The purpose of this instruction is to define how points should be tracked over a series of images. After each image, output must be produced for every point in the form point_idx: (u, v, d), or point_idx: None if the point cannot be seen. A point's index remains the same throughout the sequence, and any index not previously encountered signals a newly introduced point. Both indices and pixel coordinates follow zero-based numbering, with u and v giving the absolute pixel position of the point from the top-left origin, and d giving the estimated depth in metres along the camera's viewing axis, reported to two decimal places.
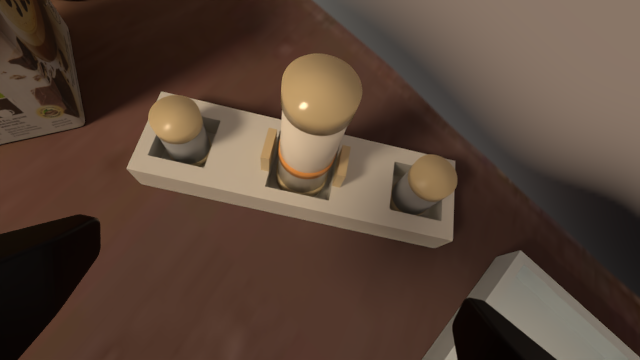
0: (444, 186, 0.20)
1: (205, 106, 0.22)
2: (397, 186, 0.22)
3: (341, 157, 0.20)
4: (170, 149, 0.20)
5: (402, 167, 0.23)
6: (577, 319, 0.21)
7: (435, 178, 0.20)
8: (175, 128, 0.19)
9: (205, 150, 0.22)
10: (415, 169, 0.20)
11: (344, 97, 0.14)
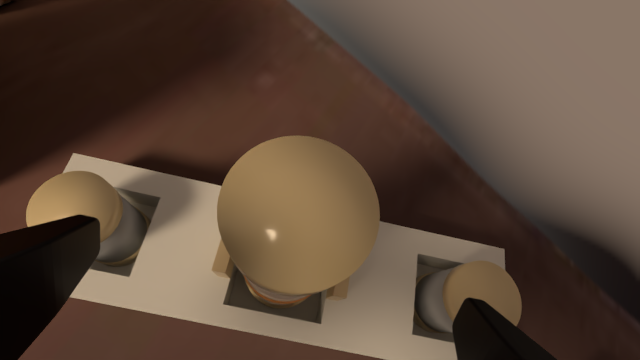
0: None
1: (139, 175, 0.15)
2: (423, 294, 0.15)
3: None
4: None
5: (428, 259, 0.16)
6: None
7: None
8: None
9: (137, 242, 0.15)
10: (456, 289, 0.13)
11: (344, 231, 0.07)
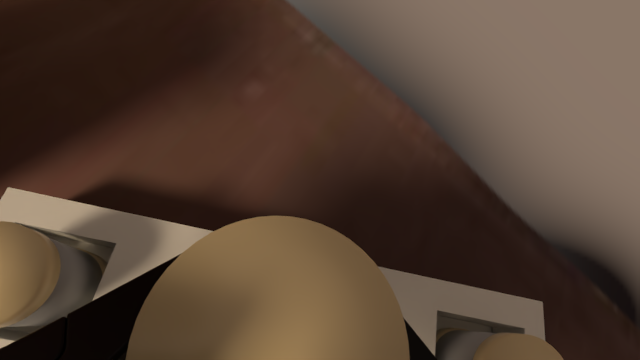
0: None
1: (90, 214, 0.12)
2: None
3: None
4: None
5: (449, 314, 0.13)
6: None
7: None
8: None
9: (88, 299, 0.12)
10: None
11: None
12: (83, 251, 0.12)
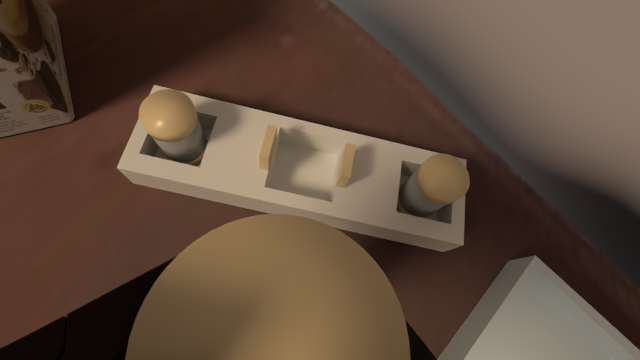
0: (456, 188, 0.18)
1: (201, 101, 0.21)
2: (404, 188, 0.21)
3: (345, 156, 0.19)
4: (164, 148, 0.19)
5: (410, 166, 0.22)
6: (594, 328, 0.20)
7: (446, 179, 0.18)
8: (168, 125, 0.17)
9: (202, 147, 0.21)
10: (424, 170, 0.18)
11: None
12: None
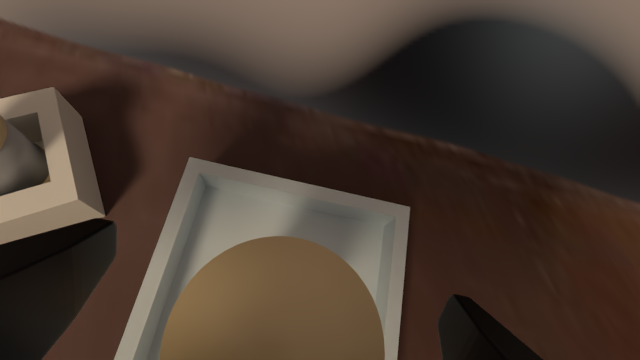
0: None
1: None
2: None
3: None
4: None
5: None
6: (302, 199, 0.16)
7: None
8: None
9: None
10: None
11: None
12: None
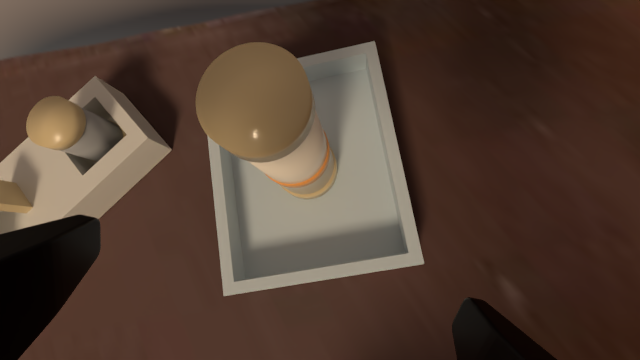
0: (64, 118, 0.17)
1: None
2: None
3: None
4: None
5: None
6: None
7: (51, 123, 0.18)
8: None
9: None
10: (32, 137, 0.18)
11: (285, 98, 0.10)
12: None
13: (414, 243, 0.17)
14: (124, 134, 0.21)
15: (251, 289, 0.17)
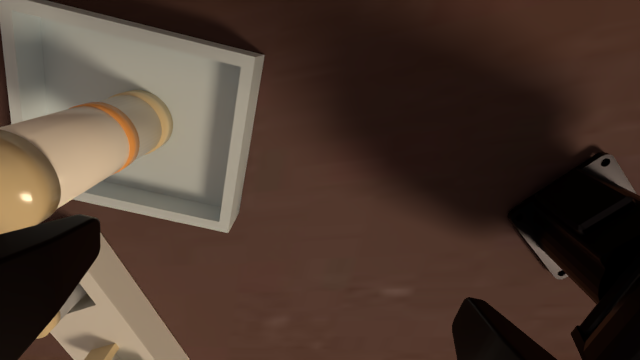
0: None
1: None
2: None
3: None
4: None
5: None
6: (29, 98, 0.18)
7: None
8: None
9: None
10: (41, 335, 0.20)
11: None
12: None
13: (233, 57, 0.16)
14: None
15: (229, 211, 0.20)
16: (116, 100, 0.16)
